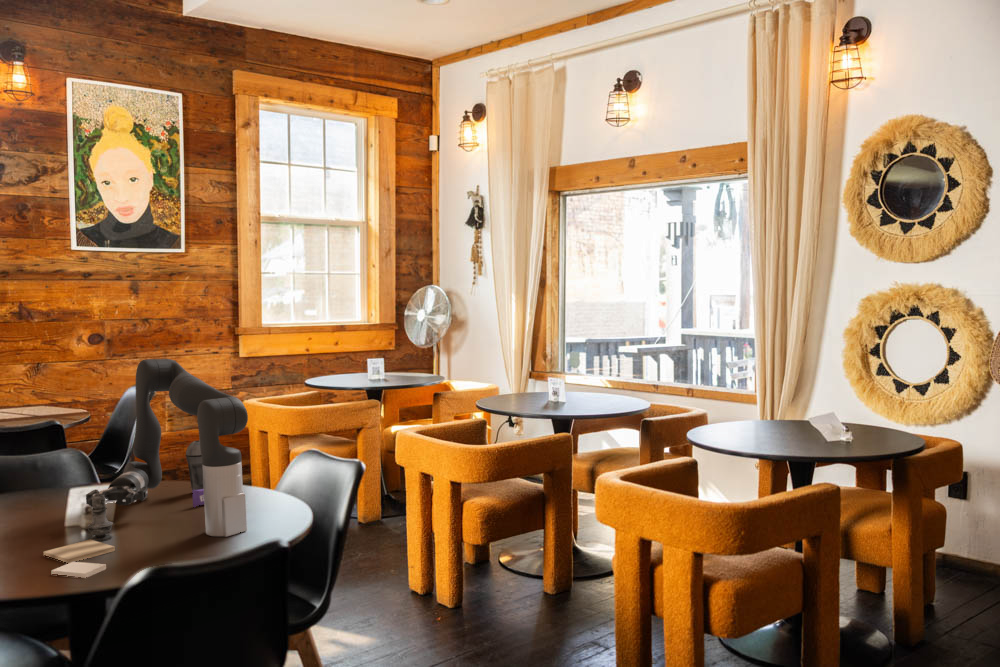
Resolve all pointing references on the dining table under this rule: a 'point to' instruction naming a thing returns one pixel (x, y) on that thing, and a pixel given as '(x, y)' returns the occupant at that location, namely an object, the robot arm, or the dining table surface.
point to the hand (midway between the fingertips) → (109, 502)
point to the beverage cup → (195, 465)
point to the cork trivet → (79, 551)
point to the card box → (79, 569)
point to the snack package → (198, 497)
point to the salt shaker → (99, 520)
